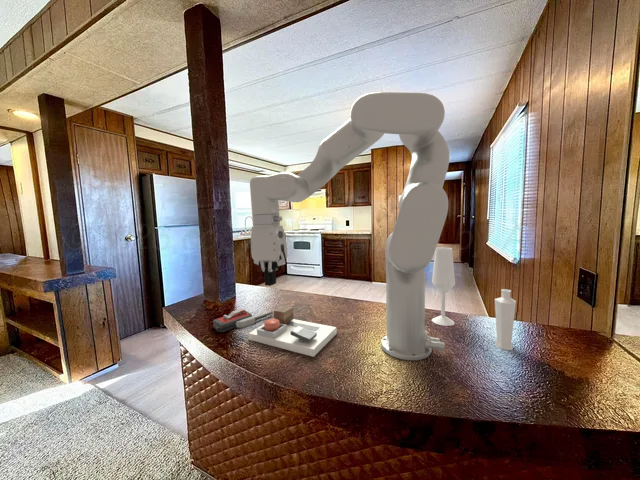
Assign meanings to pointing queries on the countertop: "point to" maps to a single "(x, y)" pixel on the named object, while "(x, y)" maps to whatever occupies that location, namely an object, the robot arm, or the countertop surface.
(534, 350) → the countertop surface
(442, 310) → the champagne flute
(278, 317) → the slider knob
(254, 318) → the gray red lever tool
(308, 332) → the rocker switch
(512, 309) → the perfume bottle
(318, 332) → the control panel
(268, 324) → the push button
